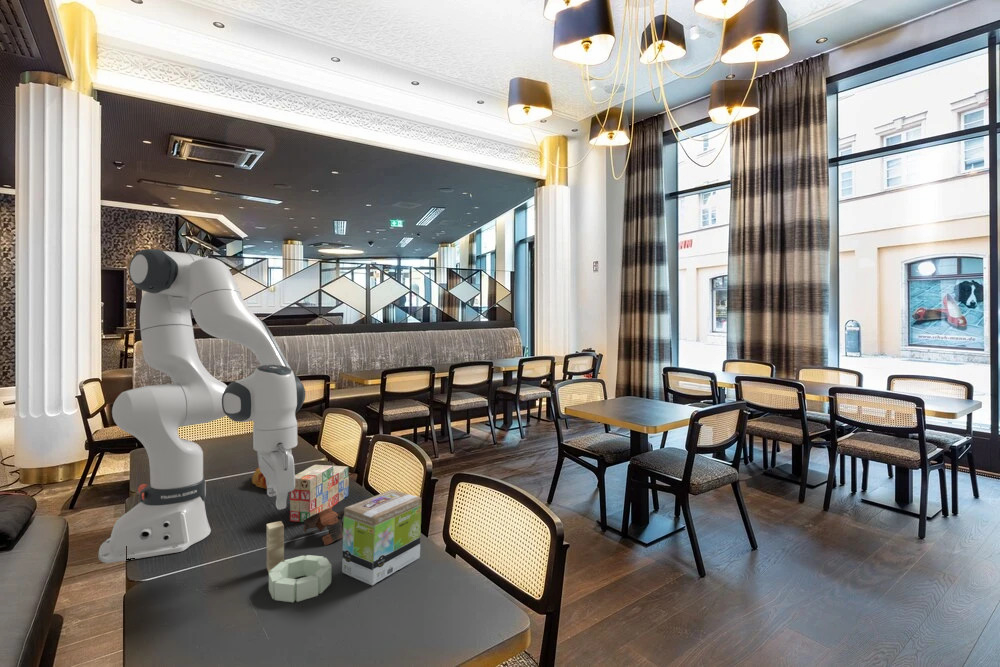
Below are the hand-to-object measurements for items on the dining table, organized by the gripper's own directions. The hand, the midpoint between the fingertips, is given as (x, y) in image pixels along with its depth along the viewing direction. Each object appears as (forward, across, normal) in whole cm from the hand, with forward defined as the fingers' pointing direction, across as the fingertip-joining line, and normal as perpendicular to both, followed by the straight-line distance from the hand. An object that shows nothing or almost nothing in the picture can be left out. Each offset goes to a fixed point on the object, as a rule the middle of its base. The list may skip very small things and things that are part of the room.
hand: (276, 501), depth 107 cm
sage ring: (+15, -9, -3) cm, 18 cm away
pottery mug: (+15, +11, -14) cm, 24 cm away
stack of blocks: (+15, +31, -18) cm, 39 cm away
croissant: (+14, +62, -10) cm, 64 cm away
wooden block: (+15, +1, 0) cm, 15 cm away
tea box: (+16, -11, -20) cm, 28 cm away
